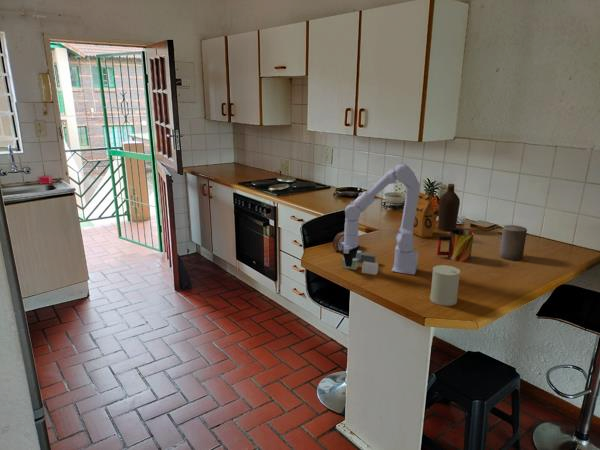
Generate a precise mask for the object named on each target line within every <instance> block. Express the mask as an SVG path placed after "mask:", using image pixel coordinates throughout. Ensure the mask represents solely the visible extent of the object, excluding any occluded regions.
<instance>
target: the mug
mask: <svg viewBox="0 0 600 450" xmlns="http://www.w3.org/2000/svg"><path fill="white" fill-rule="evenodd" d="M437 241H438V243H437V251H436V256H447V258H448V259H450V260H452V261H454V262H460V263H461V262H463V263H465V262H469V261H471V257H472V249H473V243H474V232H473V231H471V230H467V229H463V228H462V229H461V228H459V229H457V228H456V229H454V230H451V231H449V235H444V236H443V235H438V240H437ZM442 241H449V244H448V251H443V250H442V251H441V246H442Z"/></svg>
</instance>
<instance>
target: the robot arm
mask: <svg viewBox="0 0 600 450" xmlns="http://www.w3.org/2000/svg"><path fill="white" fill-rule="evenodd" d="M397 181H398V182H400V183H401V184H402V185H404V186H405V188H406V193H405V199H404V206H403V210H402V218H401V225H400V227H399V230H398V232H397V234H396V235H395V242H396V243H397V244H396V245H395V248H394V257H393V258H394V260H393V266H392V269H391V272H395V273H400V274H408V275H413V276H414V275H415V274H416V273H417V270H418V261H419V260H418V259H419V251H418V250H414V248H415V241H414V239H413V238H414V233H413V226H414V220H415V214H416V208H417V202H418V196H419V192H420V191H421V190H420V189H421V185H420V182H419V181H418V178H417V176H416V174H415V172H414V171H413V170H412V168H410V166H408V165H407V164H406V163H404V162H399V163H396V164H395V165H394V166H393V167H392V168H390V169H389V170H387V172H385V174H383V176H382V177H380V179H379V180H378V181H377V182H376V183H374V185H373V186H372V187H371V188H370V189H369V190H366V191H365V190H363V192H359V193H358V196H357V198H356V199H354V200H353V201H350V204H348V205H346V207H345V209H344V216H345V218H344V221H345V222H344V230H343V231H344V242H342V243H341V245H344V249H342V251H341V254H342V255H343V258H344V259H345V264H346V266H349V267H351V265H352V260H353V258H355V257H356V253H357V251H359V249H360V245H359V225H360V224H359V218H360V217H361V213H364V211H365V210H366V209H368V207H370V206H371V205H372V204H373V203H374V201H375V197H376V196H377V195H378V194H380V192H382V191H383V190H384V189H386V187H388V186H389V185H390V184H392V185H393V184H397Z"/></svg>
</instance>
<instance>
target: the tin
mask: <svg viewBox="0 0 600 450" xmlns="http://www.w3.org/2000/svg"><path fill="white" fill-rule="evenodd" d="M342 242H344V230H343V231H340V232H339V233H337V234H336V235H335V237H334V239H333V241H332V248H333V249H334V250H335V251H338V252H342V249H344V245H341V243H342Z"/></svg>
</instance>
